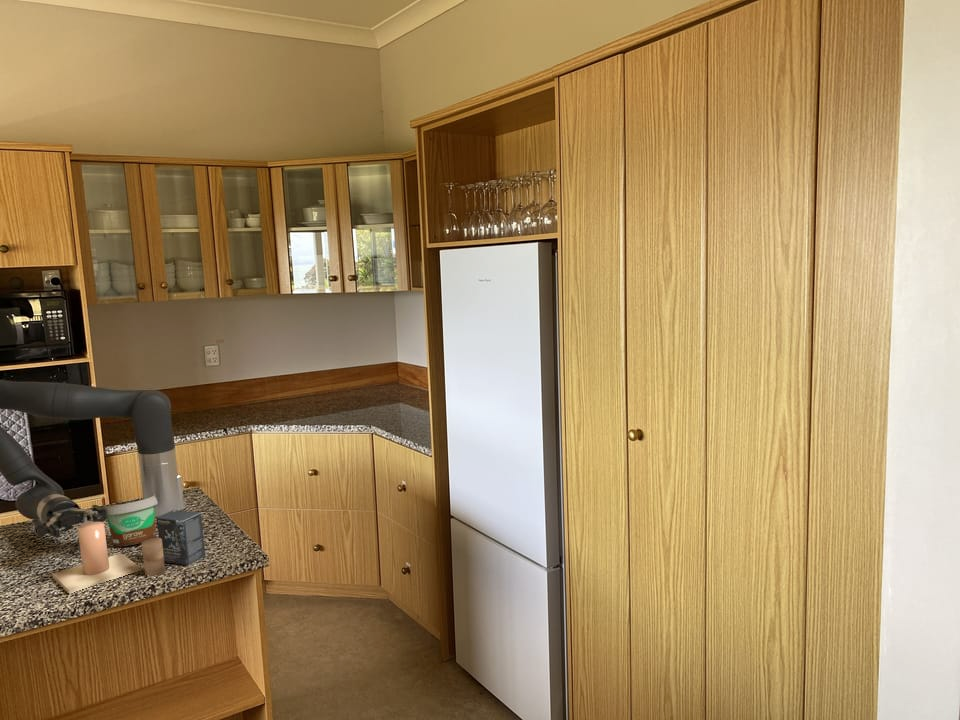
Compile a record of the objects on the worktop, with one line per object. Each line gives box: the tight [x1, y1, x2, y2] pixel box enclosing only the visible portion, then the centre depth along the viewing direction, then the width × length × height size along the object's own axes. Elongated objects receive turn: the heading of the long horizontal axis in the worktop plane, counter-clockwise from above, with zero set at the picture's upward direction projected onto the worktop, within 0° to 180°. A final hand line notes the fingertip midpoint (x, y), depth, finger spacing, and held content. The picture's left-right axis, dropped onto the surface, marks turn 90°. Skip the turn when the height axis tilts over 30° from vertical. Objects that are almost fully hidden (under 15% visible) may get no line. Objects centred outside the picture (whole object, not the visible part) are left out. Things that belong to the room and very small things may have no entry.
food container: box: [103, 496, 158, 547], centre depth 171 cm, size 12×6×10 cm, turn 127°
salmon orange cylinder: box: [77, 521, 109, 575], centre depth 154 cm, size 5×5×10 cm
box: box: [156, 509, 206, 567], centre depth 160 cm, size 8×6×11 cm
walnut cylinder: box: [140, 537, 166, 577], centre depth 154 cm, size 4×4×7 cm
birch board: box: [52, 552, 141, 595], centre depth 154 cm, size 14×12×1 cm
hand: (79, 527), depth 160 cm, fingers open, 8 cm apart
